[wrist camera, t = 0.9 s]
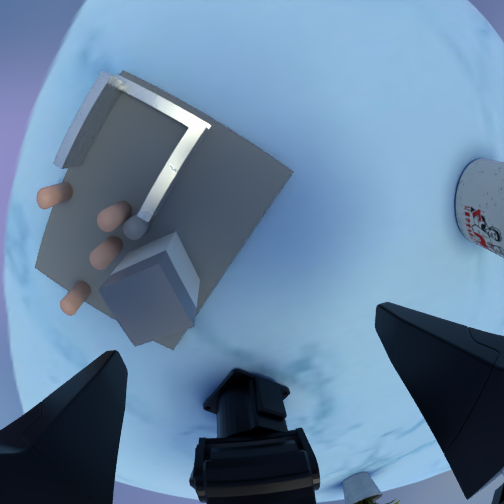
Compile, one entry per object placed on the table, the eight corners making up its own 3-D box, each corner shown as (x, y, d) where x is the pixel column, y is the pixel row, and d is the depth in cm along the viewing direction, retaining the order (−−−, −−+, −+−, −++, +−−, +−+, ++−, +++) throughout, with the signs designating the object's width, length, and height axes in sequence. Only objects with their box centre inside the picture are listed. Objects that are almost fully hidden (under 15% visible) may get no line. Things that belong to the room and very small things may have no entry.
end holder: (158, 212, 19) (148, 222, 16) (74, 160, 17) (53, 163, 14) (211, 126, 17) (209, 121, 14) (120, 77, 15) (105, 66, 12)
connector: (200, 280, 21) (194, 326, 15) (153, 298, 21) (134, 346, 15) (176, 231, 19) (159, 263, 14) (128, 252, 19) (98, 290, 14)
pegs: (171, 345, 22) (166, 369, 20) (34, 263, 19) (15, 277, 16) (226, 260, 20) (228, 278, 18) (67, 165, 17) (46, 168, 14)
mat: (173, 345, 23) (173, 350, 23) (38, 264, 19) (34, 267, 19) (291, 171, 19) (293, 171, 19) (125, 72, 16) (122, 70, 15)
